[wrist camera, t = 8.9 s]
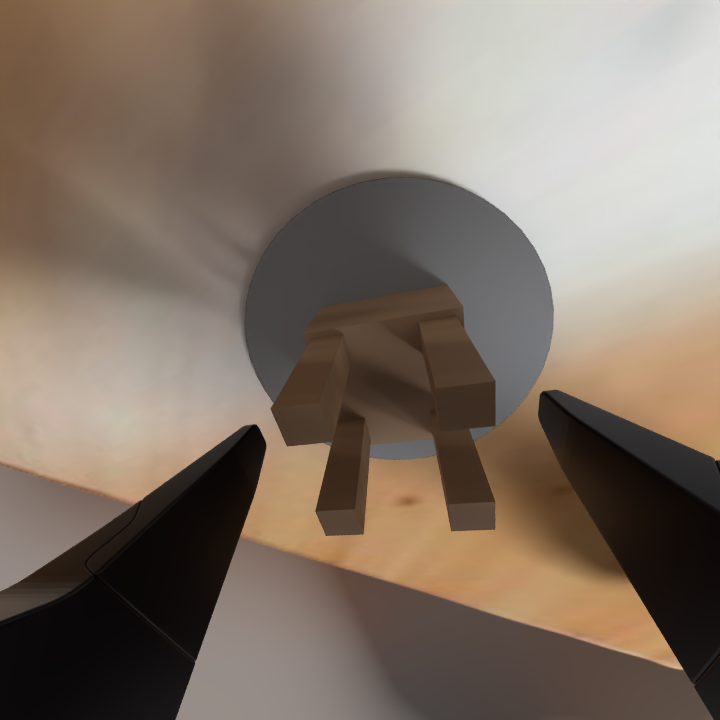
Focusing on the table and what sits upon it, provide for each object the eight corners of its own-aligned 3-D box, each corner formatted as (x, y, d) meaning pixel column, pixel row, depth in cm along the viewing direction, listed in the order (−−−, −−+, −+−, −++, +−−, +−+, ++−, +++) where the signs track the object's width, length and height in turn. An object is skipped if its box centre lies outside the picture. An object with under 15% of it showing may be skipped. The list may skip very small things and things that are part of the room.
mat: (537, 442, 16) (541, 448, 15) (299, 463, 18) (297, 468, 18) (566, 130, 10) (573, 127, 9) (197, 225, 12) (191, 226, 12)
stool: (454, 393, 14) (504, 534, 8) (348, 405, 15) (320, 540, 9) (446, 284, 12) (508, 369, 6) (320, 307, 13) (256, 401, 7)
